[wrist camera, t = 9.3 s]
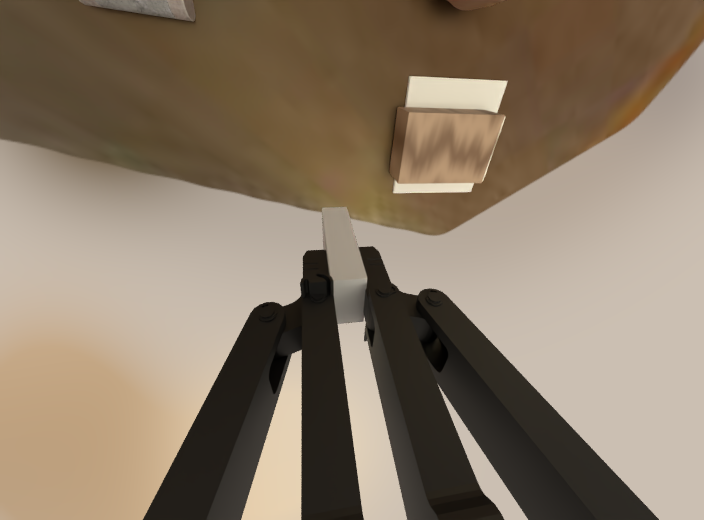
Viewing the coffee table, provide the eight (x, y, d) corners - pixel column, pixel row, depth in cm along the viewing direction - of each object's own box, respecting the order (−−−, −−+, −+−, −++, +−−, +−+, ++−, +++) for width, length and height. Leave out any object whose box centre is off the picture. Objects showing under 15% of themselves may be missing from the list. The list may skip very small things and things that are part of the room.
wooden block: (409, 112, 32) (507, 115, 34) (397, 106, 36) (486, 109, 38) (398, 183, 37) (483, 182, 39) (389, 172, 41) (467, 171, 43)
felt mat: (409, 75, 35) (410, 76, 34) (504, 80, 36) (507, 81, 36) (392, 191, 44) (393, 193, 44) (469, 190, 46) (470, 191, 46)
